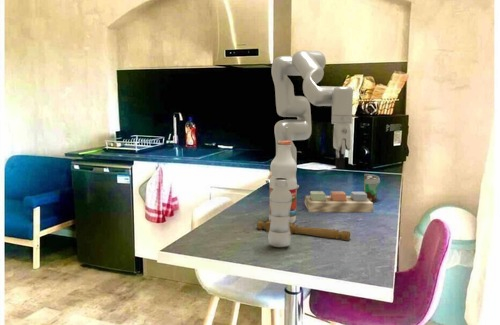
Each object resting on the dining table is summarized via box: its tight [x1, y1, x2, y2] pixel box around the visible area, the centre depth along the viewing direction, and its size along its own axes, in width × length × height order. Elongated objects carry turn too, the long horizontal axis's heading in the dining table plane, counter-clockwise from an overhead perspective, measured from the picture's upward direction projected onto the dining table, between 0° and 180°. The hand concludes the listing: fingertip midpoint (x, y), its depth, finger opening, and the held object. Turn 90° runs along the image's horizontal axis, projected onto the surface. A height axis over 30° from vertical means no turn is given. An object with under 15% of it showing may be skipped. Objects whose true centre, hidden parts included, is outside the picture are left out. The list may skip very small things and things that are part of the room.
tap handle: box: [256, 220, 351, 241], centre depth 144 cm, size 3×3×30 cm
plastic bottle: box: [267, 178, 292, 248], centre depth 131 cm, size 6×7×20 cm
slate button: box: [350, 191, 367, 201], centre depth 176 cm, size 5×5×4 cm
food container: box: [363, 173, 381, 203], centre depth 189 cm, size 12×6×10 cm, turn 168°
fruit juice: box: [268, 140, 298, 224], centre depth 156 cm, size 9×9×28 cm
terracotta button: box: [330, 190, 347, 201], centre depth 176 cm, size 5×5×4 cm
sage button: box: [309, 190, 326, 201], centre depth 175 cm, size 5×5×4 cm
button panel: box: [304, 195, 374, 214], centre depth 176 cm, size 24×12×4 cm, turn 91°
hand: (340, 168), depth 173 cm, fingers closed
